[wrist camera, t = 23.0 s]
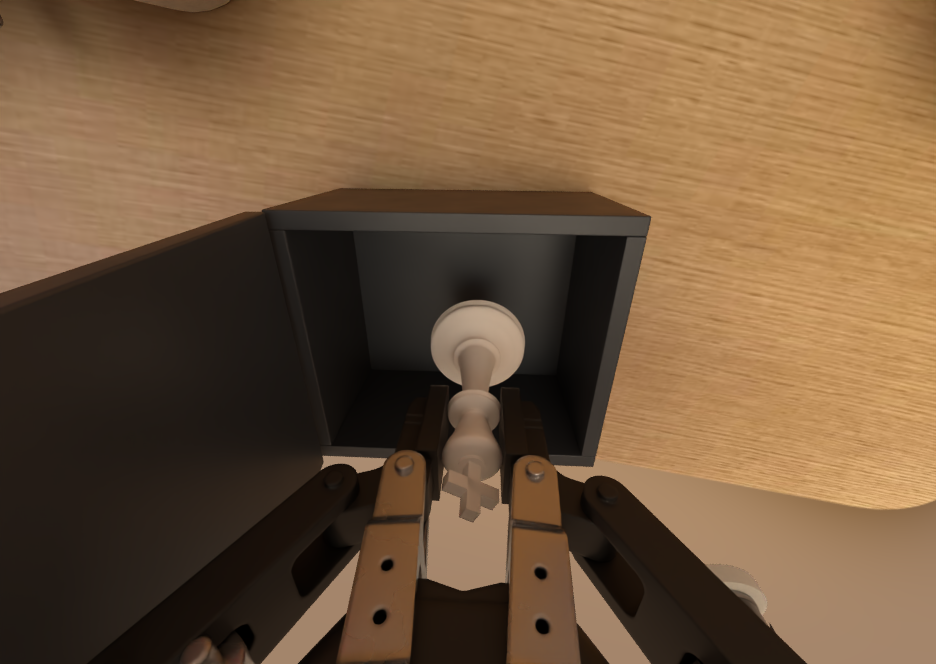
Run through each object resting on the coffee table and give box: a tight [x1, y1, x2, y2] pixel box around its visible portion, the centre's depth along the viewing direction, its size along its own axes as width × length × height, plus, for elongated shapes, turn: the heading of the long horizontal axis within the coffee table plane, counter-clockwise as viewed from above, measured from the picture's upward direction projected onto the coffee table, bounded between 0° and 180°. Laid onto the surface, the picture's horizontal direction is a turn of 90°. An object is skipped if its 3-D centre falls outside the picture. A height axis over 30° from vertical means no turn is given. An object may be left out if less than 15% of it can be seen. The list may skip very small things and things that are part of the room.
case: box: [262, 188, 651, 467], centre depth 21 cm, size 16×14×9 cm
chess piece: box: [431, 300, 525, 522], centre depth 14 cm, size 5×5×10 cm
